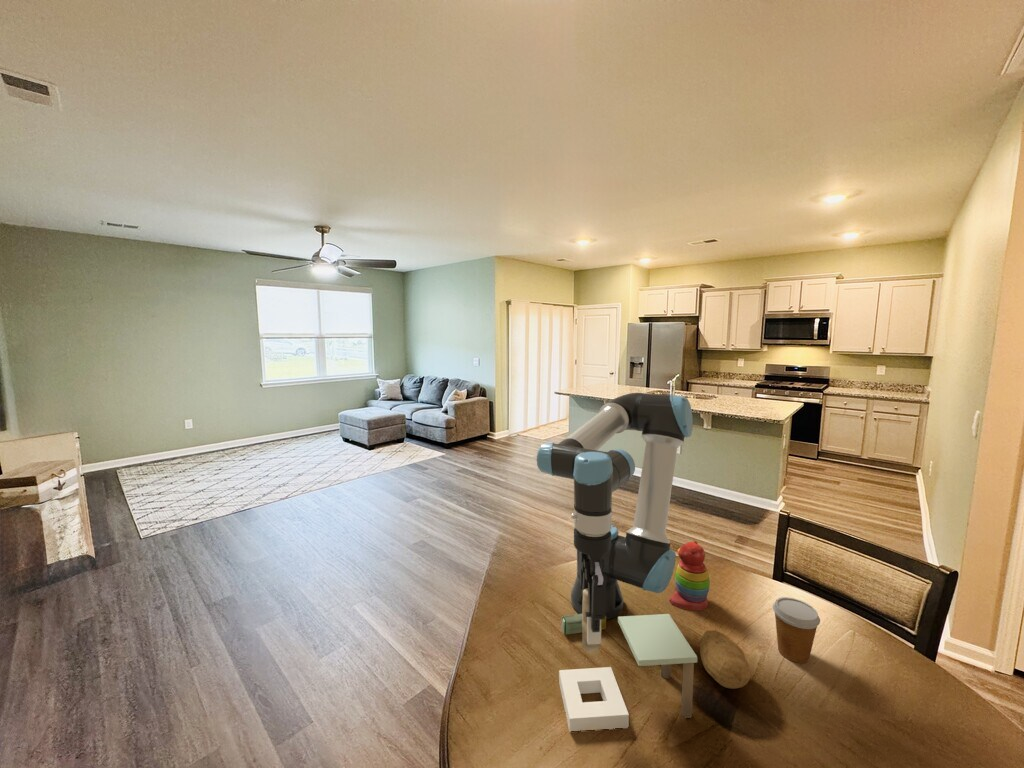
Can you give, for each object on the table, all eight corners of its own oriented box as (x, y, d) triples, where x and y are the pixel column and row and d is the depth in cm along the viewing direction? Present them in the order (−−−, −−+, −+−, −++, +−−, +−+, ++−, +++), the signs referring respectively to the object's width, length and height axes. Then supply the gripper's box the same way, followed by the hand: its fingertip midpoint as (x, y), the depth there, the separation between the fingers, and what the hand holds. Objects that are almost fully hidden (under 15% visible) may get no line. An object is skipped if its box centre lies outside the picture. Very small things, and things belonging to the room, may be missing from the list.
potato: (728, 652, 102) (730, 622, 101) (761, 702, 88) (763, 668, 87) (688, 652, 102) (689, 622, 101) (715, 702, 88) (716, 668, 87)
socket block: (559, 682, 93) (559, 670, 93) (610, 678, 94) (610, 666, 94) (569, 732, 82) (569, 718, 81) (628, 728, 82) (628, 714, 82)
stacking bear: (677, 585, 129) (678, 531, 127) (712, 597, 123) (714, 540, 121) (667, 603, 120) (669, 546, 118) (704, 616, 115) (707, 556, 113)
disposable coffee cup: (825, 671, 95) (829, 623, 94) (780, 665, 97) (783, 618, 96) (805, 642, 105) (808, 598, 103) (764, 637, 106) (766, 594, 105)
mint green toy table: (617, 673, 96) (618, 616, 94) (667, 669, 96) (668, 613, 95) (637, 725, 83) (638, 660, 81) (694, 720, 84) (697, 656, 82)
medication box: (563, 636, 108) (563, 622, 108) (560, 628, 111) (560, 615, 110) (606, 630, 110) (606, 616, 110) (602, 622, 113) (602, 609, 112)
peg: (580, 640, 88) (581, 588, 87) (597, 639, 88) (597, 587, 87) (584, 653, 84) (585, 598, 83) (601, 652, 85) (602, 598, 83)
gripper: (566, 512, 92) (566, 610, 94) (583, 550, 75) (582, 667, 78) (599, 511, 92) (598, 608, 95) (623, 548, 76) (621, 665, 78)
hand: (591, 635), depth 86 cm, fingers closed on peg, 3 cm apart
